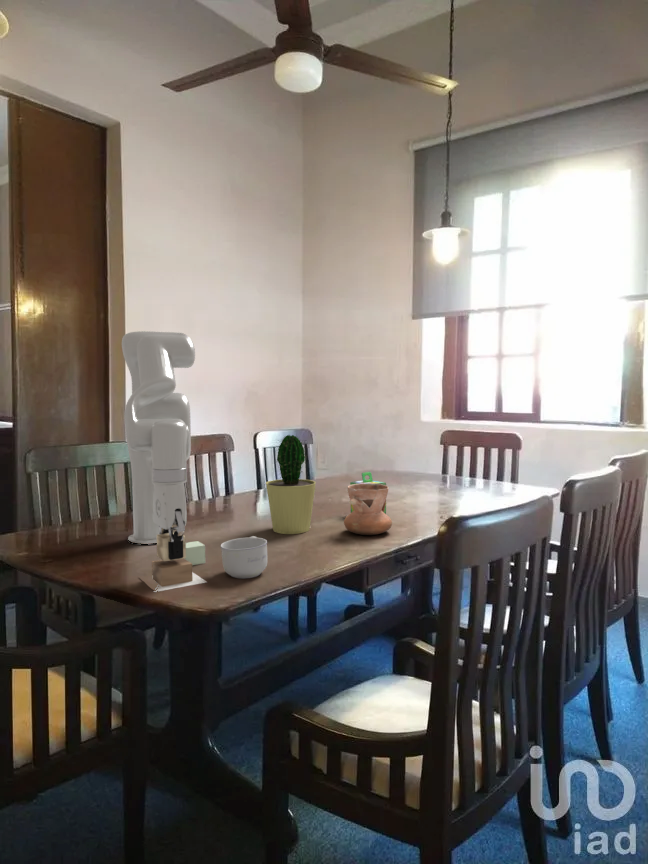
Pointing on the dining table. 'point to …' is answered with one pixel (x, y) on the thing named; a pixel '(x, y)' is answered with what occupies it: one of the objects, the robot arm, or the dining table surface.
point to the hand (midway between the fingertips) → (171, 554)
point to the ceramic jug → (368, 509)
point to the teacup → (244, 556)
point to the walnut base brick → (171, 571)
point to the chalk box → (367, 482)
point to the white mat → (195, 579)
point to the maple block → (163, 546)
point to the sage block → (195, 552)
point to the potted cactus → (291, 490)
